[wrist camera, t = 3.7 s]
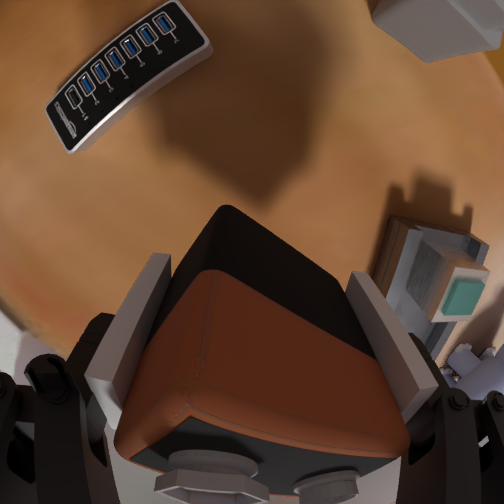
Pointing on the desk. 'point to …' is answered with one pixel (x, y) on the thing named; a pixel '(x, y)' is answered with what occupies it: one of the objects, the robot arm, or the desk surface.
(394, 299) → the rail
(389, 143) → the desk surface
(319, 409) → the battery
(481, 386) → the hippopotamus toy
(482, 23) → the power adapter
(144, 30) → the multiport hub
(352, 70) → the desk surface
